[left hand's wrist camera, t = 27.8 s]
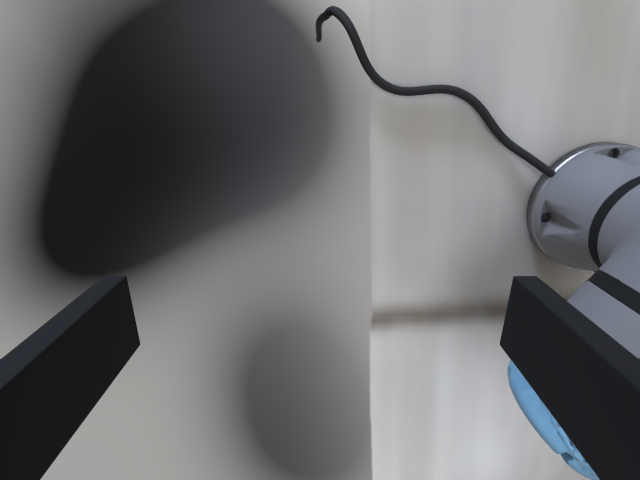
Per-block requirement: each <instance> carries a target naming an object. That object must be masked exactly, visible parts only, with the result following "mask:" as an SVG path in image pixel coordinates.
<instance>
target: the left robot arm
mask: <svg viewBox="0 0 640 480" xmlns="http://www.w3.org/2000/svg"><path fill="white" fill-rule="evenodd" d="M331 16H335V17H336V18H337V19H338V20H339V21H340V22H341V23H342V24H343V26H344V27H345V29H346V31H347V33H348V35H349V37H350V39H351V41H352V44H353V46H354V49H355V51H356V54H357V56H358V58H359V60H360V63H361V64H362V67H363V68H364V70H365V72H366V73H367V75H368V76H369V77H370V79H371V80H372V81H373V82H374V83H375V84H377V85H378V86H379V87H381V88H382V89H384V90H386V91H388V92H390V93H393V94H397V95H406V96H412V95H424V94H434V93H445V94H451V95H455V96H457V97H460V98H461V99H463V100H465V101H466V102H468V103H469V104H470V105H471V106H472V107H473V108H474V109H475V110H476V111H477V112H478V113H479V115H480V116H481V117H482V119H483V120H484V122H485V123H486V124H487V126H488V127H489V129H490V130H491V132H492V133H493V134H494V135H495V137H496V138H497V139H498V140H499V141H500V142H501V143H502V144H503V145H504V146H506V147H507V148H508V149H509V150H511V151H512V152H514V153H515V154H516V155H518V156H520V157H521V158H523V159H524V160H526V161H527V162H528V163H530V164H531V165H533V166H534V167H535V168H537V169H538V170H540V171H541V172H542V173H544V174H543V176H542V177H541V178H540V180H539V181H538V183H537V185H536V186H535V188H534V190H533V192H532V195H531V197H530V200H529V204H528V210H527V225H528V230H529V233H530V236H531V238H532V240H533V242H534V243H535V245H536V246H537V247H538V248H539V249H540V250H541V251H542V252H543V253H545V254H546V255H547V256H549V257H550V258H552V259H553V260H555V261H557V262H559V263H561V264H564V265H567V266H570V267H575V268H580V269H586V270H592V271H594V272H595V273H594V274H593V275H592V276H591V277H590V278H589V279H588V280H587V281H586V282H585V283H584V284H583V285H582V286H581V287H580V288H579V289H578V290H577V291H576V292H575V293H574V294H573V295H572V296H571V297H570V298H569V299H568V300H567V301H566V300H565V299H564V298H563V297H561V296H560V295H559V294H558V293H556V292H555V291H554V290H553V289H551V288H550V287H549V286H548V285H546V284H545V283H544V282H543V281H541V280H540V279H539V278H538V277H536V276H514V277H513V282H512V287H511V292H510V296H509V301H508V306H507V311H506V316H505V321H504V326H503V331H502V336H501V341H500V345H501V347H502V348H503V349H504V351H505V352H506V354H507V355H508V356H509V358H510V359H511V361H510V363H509V366H508V378H509V384H510V388H511V390H512V393H513V395H514V397H515V399H516V401H517V403H518V404H519V406H520V408H521V410H522V411H523V413H524V414H525V416H526V417H527V419H528V420H529V422H530V423H531V424H532V426H533V427H534V428H535V430H536V431H537V432H538V434H539V435H540V436H541V437H542V439H543V440H544V441H545V442H546V443H547V444H548V445H549V447H550V448H551V449H552V450H553V451H554V452H555V453H557V454H561V456H562V457H563V459H564V460H565V462H566V463H567V464H568V465H569V466H570V467H572V468H573V469H574V470H575V471H577V472H578V473H580V474H581V475H583V476H585V477H587V478H589V479H591V480H640V148H637V147H635V146H631V145H626V144H618V143H609V142H604V143H595V144H590V145H586V146H583V147H580V148H578V149H576V150H574V151H572V152H570V153H568V154H566V155H565V156H563V157H562V158H560V159H559V160H558V161H556V162H555V163H554V164H553V165H552V166H551V167H548V166H547V165H546V164H544V163H543V162H541V161H540V160H539V159H537V158H536V157H534V156H533V155H532V154H530V153H529V152H527V151H526V150H524V149H523V148H521V147H520V146H518V145H517V144H515V143H514V142H513V141H512V140H510V139H509V138H508V137H507V136H506V135H505V134H504V132H503V131H502V130H501V129H500V128H499V126H498V125H497V123H496V122H495V120H494V119H493V118H492V116H491V115H490V113H489V112H488V110H487V109H486V108H485V106H484V105H483V104H482V103H481V102H480V101H479V100H478V99H477V98H476V97H474V96H473V95H472V94H470V93H469V92H467V91H465V90H463V89H460V88H458V87H454V86H449V85H430V86H421V87H400V86H396V85H393V84H391V83H389V82H387V81H385V80H384V79H383V78H381V77H380V76H379V75H378V73H377V72H376V71H375V70H374V68H373V67H372V65H371V63H370V61H369V59H368V57H367V55H366V53H365V50H364V48H363V45H362V43H361V40H360V38H359V36H358V33H357V31H356V29H355V27H354V25H353V23H352V22H351V20H350V19H349V17H348V16H347V15H346V14H345V12H343V11H342V10H341V9H340V8H338V7H336V6H330V7H328V8H327V9H326V10H325V11H324V12H323V13H322V14H320V15H319V17H318V18H317V20H316V41H317V42H320V41H321V39H322V24H323V22H324V21H326V20H328V19H329V18H330V17H331ZM597 286H598V287H597ZM139 345H140V341H139V336H138V331H137V326H136V321H135V316H134V311H133V306H132V301H131V297H130V292H129V287H128V282H127V277H126V276H104V277H102V278H101V279H100V280H99V281H97V282H96V283H95V284H94V285H92V286H91V287H90V288H89V289H88V290H86V291H85V292H84V293H82V294H81V295H80V296H79V297H77V298H76V299H75V300H74V301H73V302H71V303H70V304H69V305H68V306H66V307H65V308H64V309H63V310H61V311H60V312H59V313H58V314H56V315H55V316H54V317H53V318H51V319H50V320H49V321H48V322H47V323H45V324H44V325H43V326H42V327H40V328H39V329H38V330H37V331H35V332H34V333H33V334H32V335H30V336H29V337H28V338H27V339H25V340H24V341H23V342H22V343H20V344H19V345H18V346H17V347H15V348H14V349H13V350H12V351H11V352H9V353H8V354H7V355H6V356H4V357H3V358H2V359H0V480H40V479H41V478H42V476H43V475H44V474H45V472H46V471H47V470H48V468H49V467H50V465H51V464H52V463H53V461H54V460H55V459H56V457H57V456H58V455H59V453H60V452H61V451H62V449H63V448H64V447H65V445H66V444H67V443H68V441H69V440H70V438H71V437H72V436H73V434H74V433H75V432H76V430H77V429H78V428H79V426H80V425H81V424H82V422H83V421H84V420H85V418H86V417H87V415H88V414H89V413H90V412H91V410H92V409H93V408H94V406H95V405H96V403H97V402H98V401H99V399H100V398H101V397H102V395H103V394H104V393H105V391H106V390H107V389H108V387H109V386H110V385H111V383H112V382H113V380H114V379H115V378H116V376H117V375H118V374H119V372H120V371H121V370H122V368H123V367H124V366H125V364H126V363H127V362H128V360H129V359H130V358H131V356H132V355H133V354H134V352H135V351H136V349H137V348H138V347H139Z"/></svg>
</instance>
